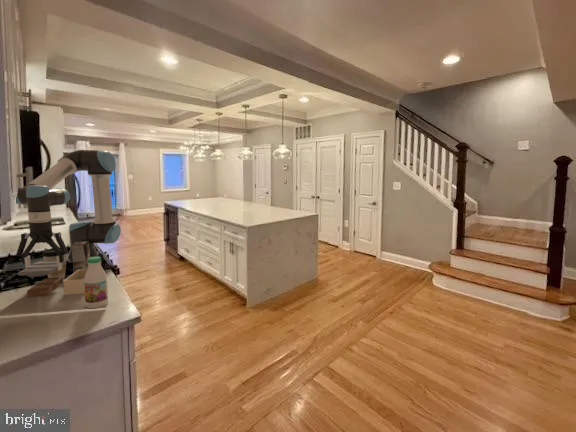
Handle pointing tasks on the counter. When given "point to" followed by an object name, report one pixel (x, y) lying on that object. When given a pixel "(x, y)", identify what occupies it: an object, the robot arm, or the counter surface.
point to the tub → (75, 283)
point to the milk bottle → (95, 284)
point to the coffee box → (80, 255)
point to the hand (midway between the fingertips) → (44, 270)
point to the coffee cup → (51, 256)
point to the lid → (40, 268)
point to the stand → (45, 287)
